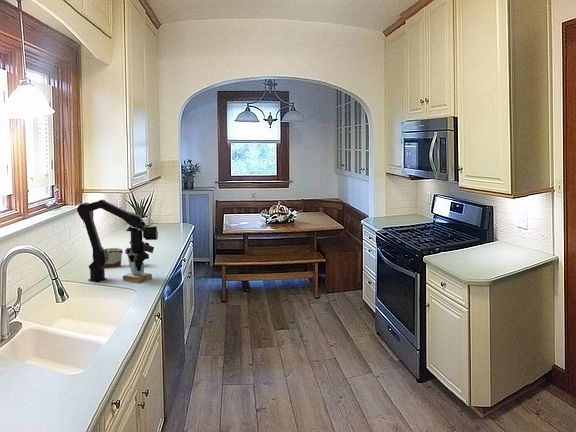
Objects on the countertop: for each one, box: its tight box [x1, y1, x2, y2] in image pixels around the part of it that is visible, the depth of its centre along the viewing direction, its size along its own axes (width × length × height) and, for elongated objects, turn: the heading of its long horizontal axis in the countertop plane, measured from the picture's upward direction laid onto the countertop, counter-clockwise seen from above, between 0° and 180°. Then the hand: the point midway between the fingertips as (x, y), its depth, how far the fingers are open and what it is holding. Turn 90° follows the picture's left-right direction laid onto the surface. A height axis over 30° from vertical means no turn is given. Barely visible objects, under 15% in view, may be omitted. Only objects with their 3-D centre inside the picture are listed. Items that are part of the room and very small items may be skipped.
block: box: [130, 262, 145, 274], centre depth 257 cm, size 5×5×5 cm
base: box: [122, 272, 153, 284], centre depth 258 cm, size 10×10×3 cm
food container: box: [103, 247, 124, 269], centre depth 284 cm, size 12×6×10 cm, turn 116°
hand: (137, 270), depth 257 cm, fingers closed on block, 5 cm apart
